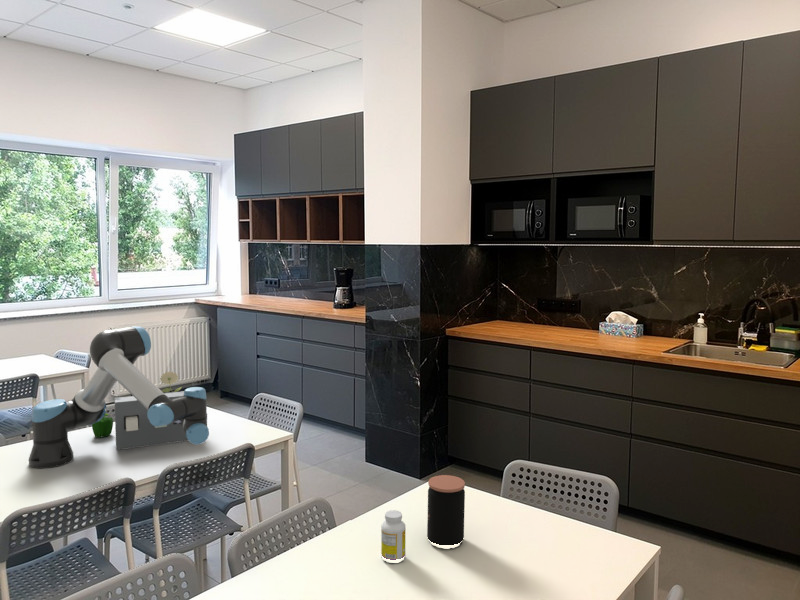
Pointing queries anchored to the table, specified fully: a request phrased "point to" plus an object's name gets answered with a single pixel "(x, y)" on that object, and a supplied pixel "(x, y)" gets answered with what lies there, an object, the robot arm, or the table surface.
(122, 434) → the keypad panel
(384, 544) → the supplement bottle
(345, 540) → the table surface
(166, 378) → the flower in vase
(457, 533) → the coffee jar
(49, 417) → the robot arm
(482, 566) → the table surface
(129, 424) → the cream key
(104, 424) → the bell pepper
